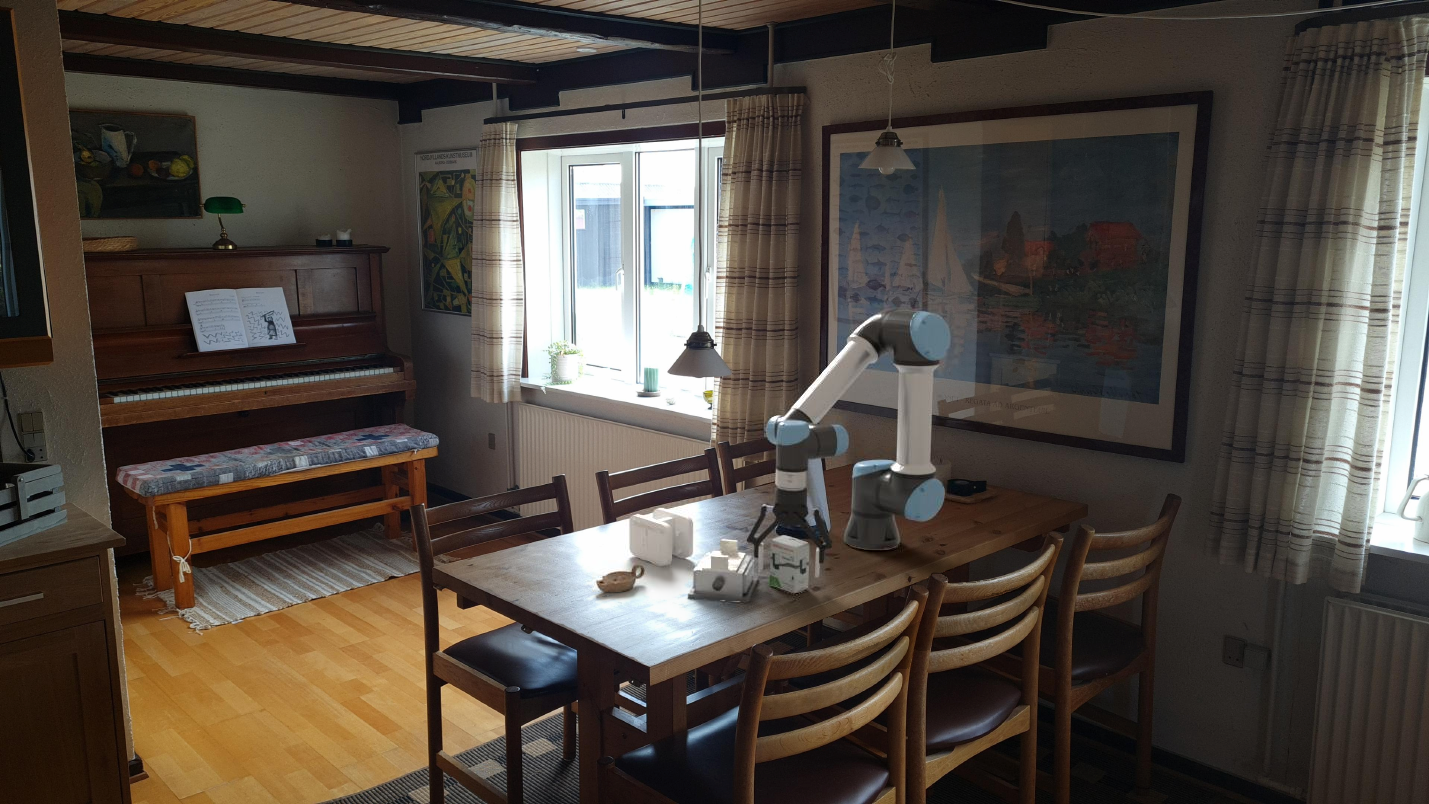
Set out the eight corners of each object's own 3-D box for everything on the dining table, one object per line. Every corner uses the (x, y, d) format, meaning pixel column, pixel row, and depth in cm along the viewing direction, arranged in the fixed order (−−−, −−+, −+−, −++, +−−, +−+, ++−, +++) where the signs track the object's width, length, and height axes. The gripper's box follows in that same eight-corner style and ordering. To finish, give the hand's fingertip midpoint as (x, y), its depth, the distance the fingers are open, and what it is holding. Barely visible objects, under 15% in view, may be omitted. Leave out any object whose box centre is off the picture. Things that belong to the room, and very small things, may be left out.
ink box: (768, 585, 236) (769, 538, 235) (781, 581, 240) (783, 534, 238) (795, 595, 230) (797, 546, 228) (809, 590, 234) (810, 542, 232)
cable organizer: (695, 561, 254) (696, 517, 252) (665, 570, 246) (665, 525, 245) (657, 547, 264) (657, 506, 262) (627, 556, 257) (627, 513, 255)
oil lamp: (604, 598, 227) (604, 578, 226) (589, 589, 233) (588, 569, 232) (652, 587, 235) (652, 567, 234) (636, 578, 241) (636, 559, 240)
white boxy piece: (758, 579, 241) (759, 540, 239) (747, 604, 225) (747, 561, 223) (702, 575, 243) (702, 535, 242) (687, 598, 227) (687, 557, 226)
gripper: (736, 487, 230) (734, 574, 233) (843, 494, 225) (840, 582, 228) (741, 479, 237) (739, 564, 240) (845, 486, 232) (842, 572, 236)
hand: (788, 573), depth 234 cm, fingers open, 13 cm apart
